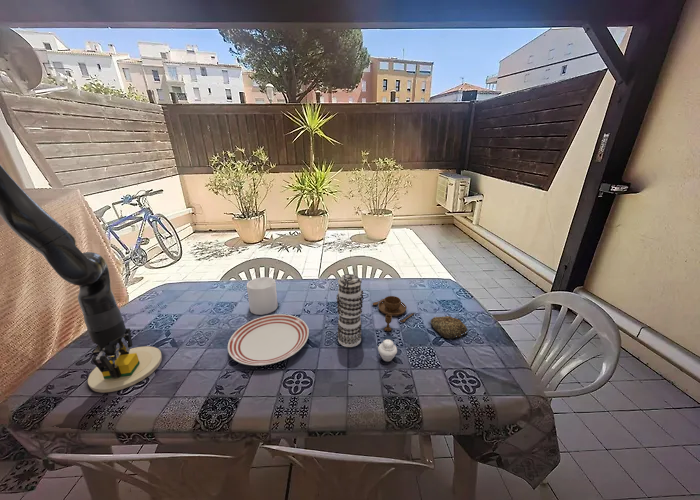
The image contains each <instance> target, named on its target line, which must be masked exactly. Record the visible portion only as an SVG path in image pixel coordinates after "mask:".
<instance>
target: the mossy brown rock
mask: <svg viewBox="0 0 700 500" xmlns="http://www.w3.org/2000/svg"><path fill="white" fill-rule="evenodd" d="M430 324H431V328H432V329H434V330H435V332H437V333H438V334H439V335H440V336H442V337H443V338H445V339H459V338H461V337H463V336H464V335H466V334H467V333H468V328H467V326H466V325H465V323H464V322H463V321H462V320H461V319H459V318H457V317H452V316H450V315H446V316H434V317H432V319H431V320H430ZM466 331H467V332H466ZM465 332H466V333H465ZM463 333H464V334H463ZM461 334H463V335H461ZM456 336H457V337H456Z"/></svg>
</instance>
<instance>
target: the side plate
mask: <svg viewBox="0 0 700 500" xmlns="http://www.w3.org/2000/svg"><path fill="white" fill-rule="evenodd" d="M129 349H130V351H129V354H133V353H137V356H138V359H139V362H140V364H139V365H138V367H137V368H136V369H135V371H134V372H133V374H132V375H129V376H122V377H119V378H108V379H104V377H103V374H102V372H101V371H100V370H99V369H98V367H97V366H96V367H94V368H93V369H92V371H91V372H90V374H89V375H88V377H87V384H88V387H89V389H91V391H93V392H96V393H101V394H102V393H112V392H117V391H121V390H124V389H127V388H129V387H132V386H134V385H136V384H138V383H139V382H142V381H143V380H145V379H146V378H148V377H149V376H151V375H152V374H153V373H154V372H155V371H156V370H157V369H158V368H159V366H160V365H161V364H162V360H163V355H162V352H161V350H160V349H159V348H157V347H155V346H150V345H149V346H148V345H146V346H137V347H133V348H132V347H131V348H129ZM120 354H121V353H120ZM120 354H119V355H120Z"/></svg>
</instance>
